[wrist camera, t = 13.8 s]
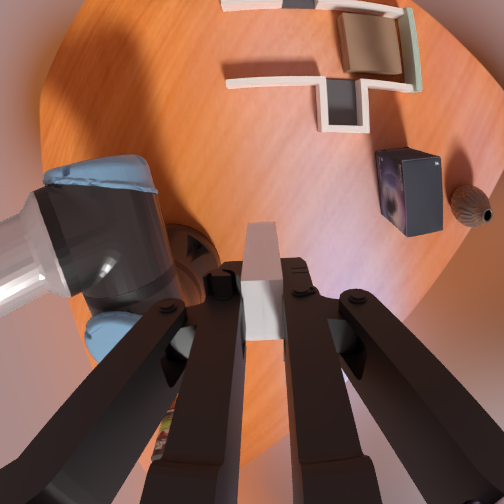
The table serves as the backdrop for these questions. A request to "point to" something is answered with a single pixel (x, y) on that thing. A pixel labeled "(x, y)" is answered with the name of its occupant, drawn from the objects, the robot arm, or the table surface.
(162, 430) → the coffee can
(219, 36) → the table surface
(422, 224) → the small box
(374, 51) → the walnut block
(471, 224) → the vase
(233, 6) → the box
